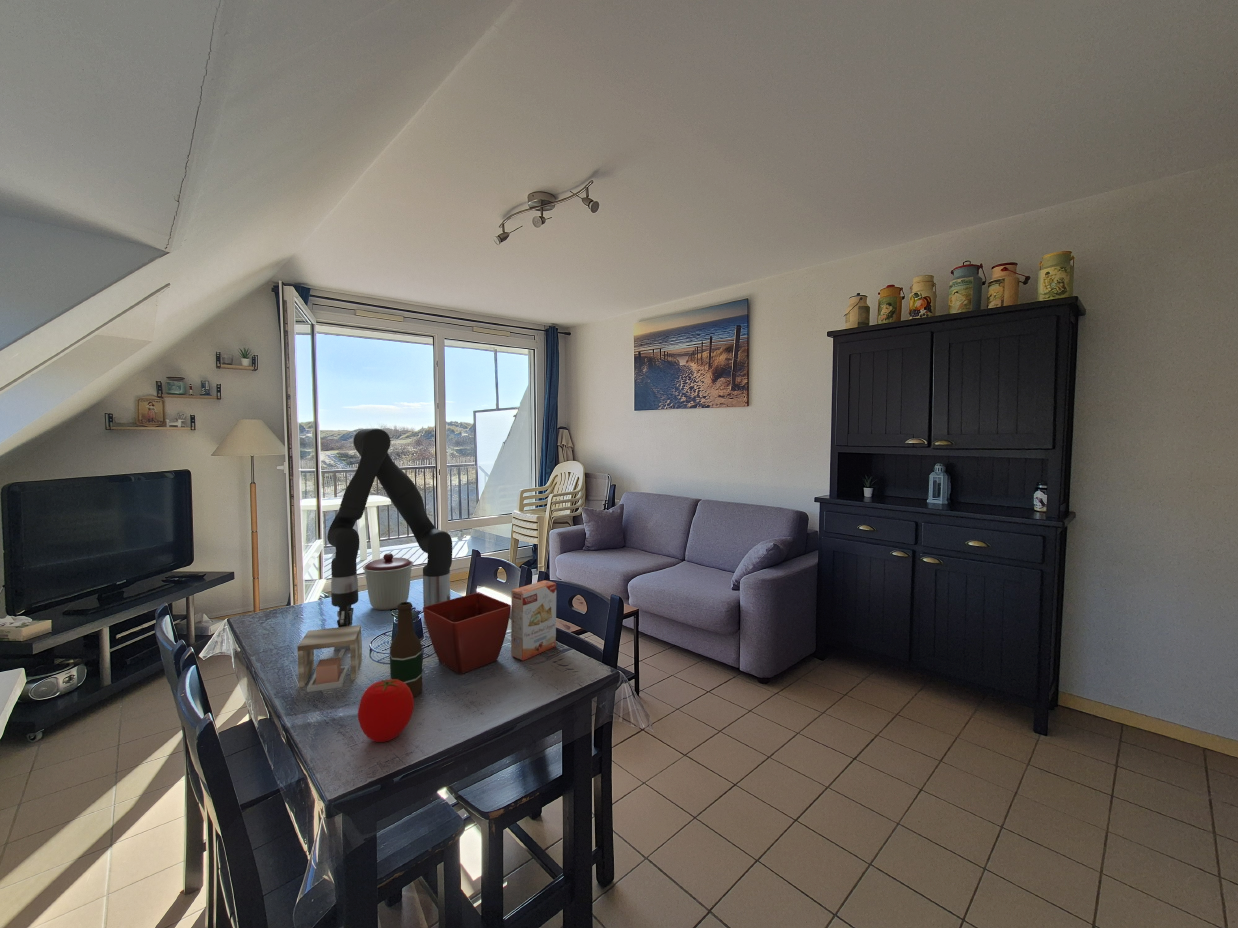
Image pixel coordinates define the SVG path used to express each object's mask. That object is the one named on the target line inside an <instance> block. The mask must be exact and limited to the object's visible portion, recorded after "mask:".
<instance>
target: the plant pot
mask: <svg viewBox="0 0 1238 928" xmlns="http://www.w3.org/2000/svg"><path fill="white" fill-rule="evenodd" d="M422 612H423V619H424V618H425V622H426V623H425V622H424V623H425V625H426V629H427V632H428V635H429V639H430V642H431V644H432V647H433V650H434V652H435V656H436V657H437V659H438V661H439V663H441V664H442V665H444V666H445V667H447V668H449V669H450V670H452V671H454V672H455V673H457V674H458V675H459V674H460V675H462V674H465V673H468V672H471V671H473V670H475V669H478V668H480V667H483V666H486V665H488V664H491V663H493V662H496V661H497V660H498V658H499V656H500V654H501V650H502V647H503V645H504V642H505V639H506V635H507V631H508V626H509V622H510V617H511V616H510V615H511V603H510V604H509V603H506V602H504V601H501V600H498V599H496V598H494V597H491V596H489V595H486V594H484V593H481V592H473V593H471V594H468V595H463V596H459V597H455V598H450V600H447V601H443V602H440V603H436V604H432V605H429V606H425V607H424V606H423V607H422Z"/></svg>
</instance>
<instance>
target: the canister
mask: <svg viewBox="0 0 1238 928" xmlns="http://www.w3.org/2000/svg"><path fill="white" fill-rule="evenodd" d="M413 565H414V562H413V560H410V559H408V558H406V557H394V554H393V553H390V552H388V553H384V554H383V557H382V558H378V559H375V560H374V559H373V560H372V561H369V562H368V563H366V564H365V565H363V566H362V569H363V571H364V574H365V575H364V576H365V581H366V589H367V595H368V600H369V604H370V606H371V607H372V608H373V609H374V610H378V611H387V610H388V611H389V610H394V609H395V610H396V609H397V606H398V604H400V603H402V602H408V600H409V595H410V587H411V578H412V566H413Z"/></svg>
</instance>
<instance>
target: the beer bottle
mask: <svg viewBox="0 0 1238 928" xmlns="http://www.w3.org/2000/svg"><path fill="white" fill-rule="evenodd" d="M412 608H413V604H412V602H411V601H407V602H402V603H400V604H398V606H397V608H396V609H397V610H398V611H397V629H396V634H395V636H394V638H393V639H392V640H391V643H390V647H389V672H390V676H389V677H390V678H389V679H397V680H400V681H402V682H404V683H405V684H406V685H407V686H408V687H409V688H410V690H411V692H412V695H413V698H416V697H417V696H418V695H419V694H421V692H422V691H423V659H422V658H423V651H422V650H423V649H422V643H421V640H420V639H419V637H418V635H417V634H416V633H415V629H414V622H413V613H412V610H413V609H412Z"/></svg>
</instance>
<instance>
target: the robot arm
mask: <svg viewBox="0 0 1238 928" xmlns="http://www.w3.org/2000/svg"><path fill="white" fill-rule="evenodd" d="M391 443H392V442H391V437H390V435H389V433H388V432H387V431H385V430H384V429H382V428H374V427H373V428H372V427H370V428H363V429H360V430H358V431H357V432H356V433H355V435H354V436H353V446H354V449H355V450H356V452H357V453H358V454H359V456H360V460H359V463H358V466H357V469H356V471H355V472H354V474H353V476H352V477H351V479H350V481H349V482H348V485H347V486H346V488H345V491H344V493H343V496H342V499H341V502H340V504H339V508H338V511H337V514H336V515H335V516H334V518H333V520H332V521H331V524H330V526H329V528H328V531H327V536H326V539H327V542H328V544H329V545H330V546H331V547H334V548H335V556H334V557H333V558H332V560H331V563H330V565H331V566H330V568H331V571H330V572H331V580H330V591H331V592H330V595H331V596H330V597H331V601H330V602H331V605H332V606H333V607H338V610H337V611H336V612H337V613H336V616H337V618H338V619H337V620H336V623H337V627H346V626H353V620H354V617H353V616H354V607H353V605H355V604H357V603H358V602H359V578H358V573H357V572H358V569H357V568H358V567H357V558H358V554H359V548H360V536H359V532H358V531H357V530H356V529H355V528H354V526H355V525H356V522H357V521H359V520H361V519H362V517H363V515H364V512H365V511H366V510H365V509H366V505H367V503H368V500H369V497H370V493H371V491H372V486H373V485H374V481H375V479H377V481H378V482H379V484H380V485H381V486H382V488H383V490H384V491H385V494H386V495H387V496H388V499H389V500H390V501H391V503H392V504H393V506H394V507H395V509H396V510H397V512H398V513H399V514H400V516H401V518H402V519H403V521H405V523H406V524H407V526H408V527H409V528H410V530H411V531H410V532H411V533H412V534H413V536H414V538H415V540H416V543H417V545H418V546H419V548H420V550H422V552H424V553H425V554H427V561H426V562H427V563H426V565H424V566H423V567H422V589H423V590H422V591H423V593H422V594H423V598H422V599H423V607H425V606H429V605H432V604H436V603H440V602H443V601H447V600H451V576H450V575H451V566H452V563H453V540H452V537H451V535H450V533H448V532H447V531H445V530H441V529H439V528H437V527H436V526H435V525H434V524H433V522H432V521H431V520H430V517H429V516H428V515H427V514H428V513H427V512H426V508H425V504H424V503H425V502H424V499H423V497H422V495H421V494H422V493H421V492H420V490H419V489H418V487H417V485H416V484H415V483H414V481H413V480H412V478H411V477H410V476H408V474H407V473H406V472H405V471H403V469H401V468H400V467H399V466H398V465H397V464H396V462H394V461H393V459H392V457H391V456H390V454H389V450H390V447H391ZM423 622H424V623H425V624H426V622H425V618H424V617H423Z"/></svg>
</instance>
